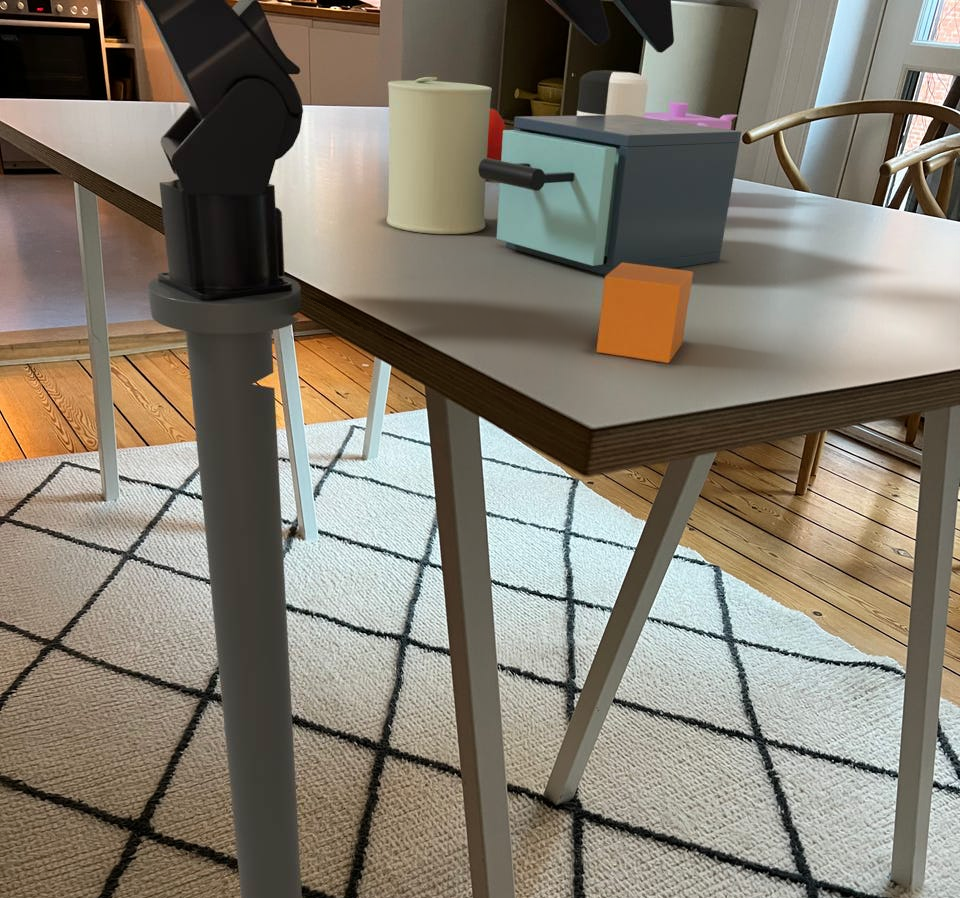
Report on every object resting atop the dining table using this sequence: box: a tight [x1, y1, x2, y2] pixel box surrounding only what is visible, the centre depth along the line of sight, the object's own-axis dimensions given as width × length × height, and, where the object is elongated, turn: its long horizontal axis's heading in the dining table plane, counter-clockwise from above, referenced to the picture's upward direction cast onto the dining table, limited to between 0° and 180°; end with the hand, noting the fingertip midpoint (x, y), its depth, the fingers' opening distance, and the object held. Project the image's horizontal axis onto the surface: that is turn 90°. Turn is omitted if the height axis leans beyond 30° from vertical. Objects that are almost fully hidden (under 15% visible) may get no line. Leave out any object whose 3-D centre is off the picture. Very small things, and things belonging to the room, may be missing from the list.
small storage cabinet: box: [505, 115, 742, 276], centre depth 85 cm, size 14×13×10 cm
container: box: [576, 69, 649, 117], centre depth 100 cm, size 8×8×13 cm
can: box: [386, 76, 493, 235], centre depth 91 cm, size 9×9×12 cm
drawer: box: [478, 129, 620, 266], centre depth 82 cm, size 17×11×8 cm, turn 131°
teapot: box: [644, 101, 739, 130], centre depth 116 cm, size 18×13×10 cm
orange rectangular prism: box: [595, 263, 694, 364], centre depth 62 cm, size 4×4×4 cm
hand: (633, 44), depth 66 cm, fingers open, 9 cm apart
